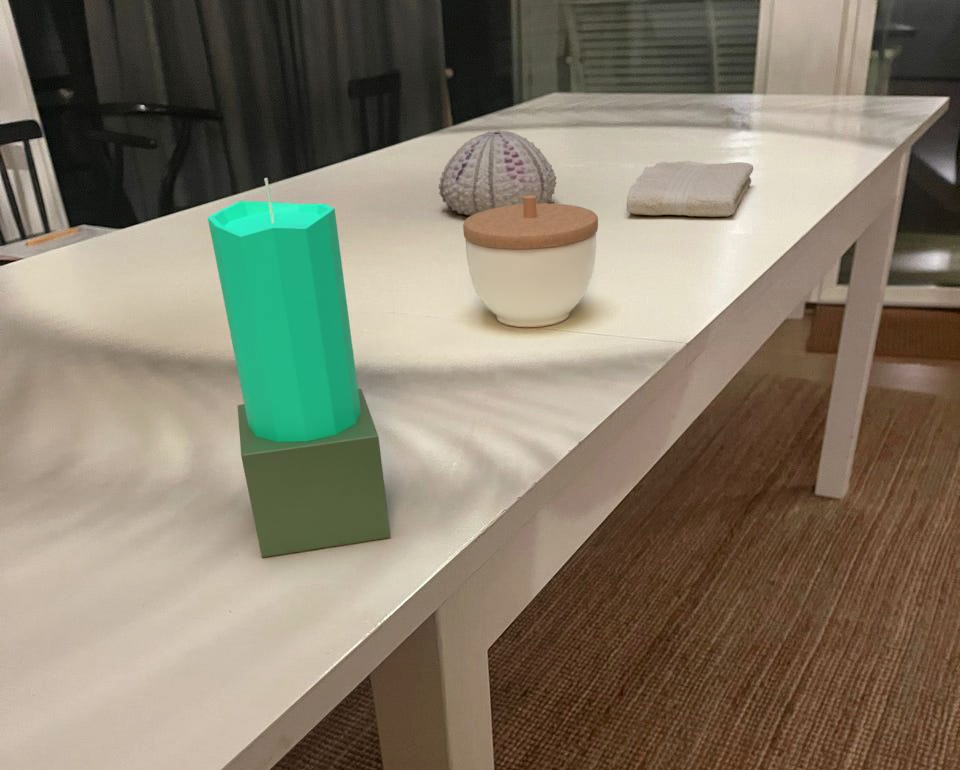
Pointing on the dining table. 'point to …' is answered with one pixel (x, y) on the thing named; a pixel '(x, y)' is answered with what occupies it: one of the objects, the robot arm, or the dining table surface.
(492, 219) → the trinket box
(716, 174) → the washcloth
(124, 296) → the dining table surface
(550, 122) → the dining table surface
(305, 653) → the dining table surface
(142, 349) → the dining table surface
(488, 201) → the sea urchin shell
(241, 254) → the candle
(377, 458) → the block
